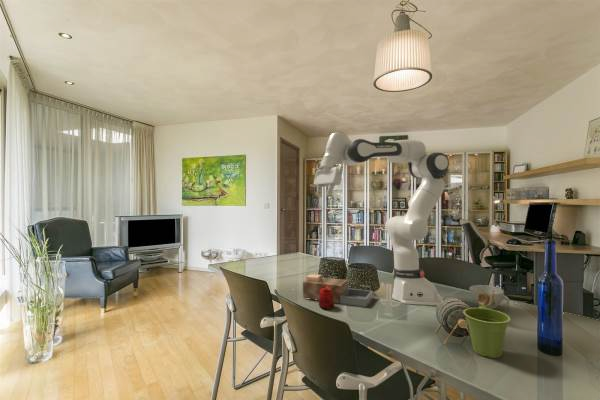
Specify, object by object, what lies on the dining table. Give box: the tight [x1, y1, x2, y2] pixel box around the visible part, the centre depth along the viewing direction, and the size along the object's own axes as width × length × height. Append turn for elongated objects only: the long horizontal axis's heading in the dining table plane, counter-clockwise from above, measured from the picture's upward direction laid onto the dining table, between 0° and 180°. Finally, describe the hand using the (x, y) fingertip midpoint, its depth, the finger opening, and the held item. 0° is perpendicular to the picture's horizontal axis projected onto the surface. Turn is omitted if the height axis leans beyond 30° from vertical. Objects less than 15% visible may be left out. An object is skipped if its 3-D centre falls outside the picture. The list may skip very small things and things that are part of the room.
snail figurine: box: [477, 290, 495, 309], centre depth 112 cm, size 5×6×12 cm
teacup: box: [469, 284, 510, 310], centre depth 125 cm, size 15×12×8 cm
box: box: [339, 288, 374, 308], centre depth 138 cm, size 12×14×4 cm
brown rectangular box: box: [302, 277, 349, 304], centre depth 145 cm, size 19×12×8 cm, turn 64°
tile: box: [305, 273, 323, 282], centre depth 148 cm, size 6×6×2 cm
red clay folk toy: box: [318, 273, 335, 310], centre depth 131 cm, size 8×7×15 cm
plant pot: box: [462, 307, 511, 359], centre depth 88 cm, size 12×12×11 cm
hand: (323, 194), depth 134 cm, fingers open, 8 cm apart
